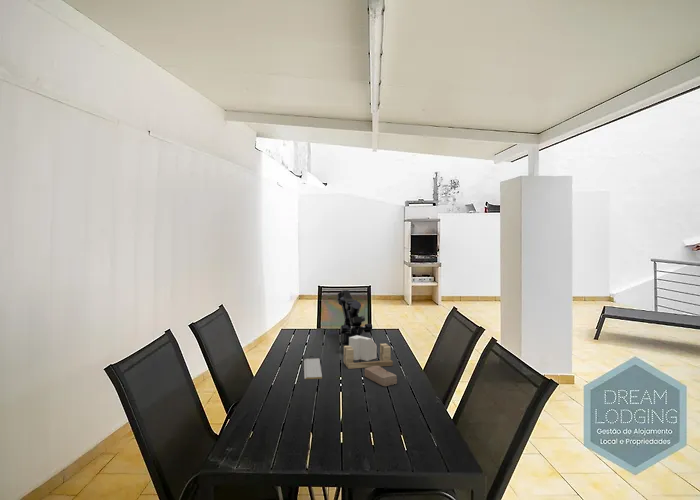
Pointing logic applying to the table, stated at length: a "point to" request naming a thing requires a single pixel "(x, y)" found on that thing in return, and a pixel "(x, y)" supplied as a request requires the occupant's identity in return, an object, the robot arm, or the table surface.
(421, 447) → the table surface
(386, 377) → the brick
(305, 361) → the baseboard
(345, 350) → the wooden rack
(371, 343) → the grey faceted lump
